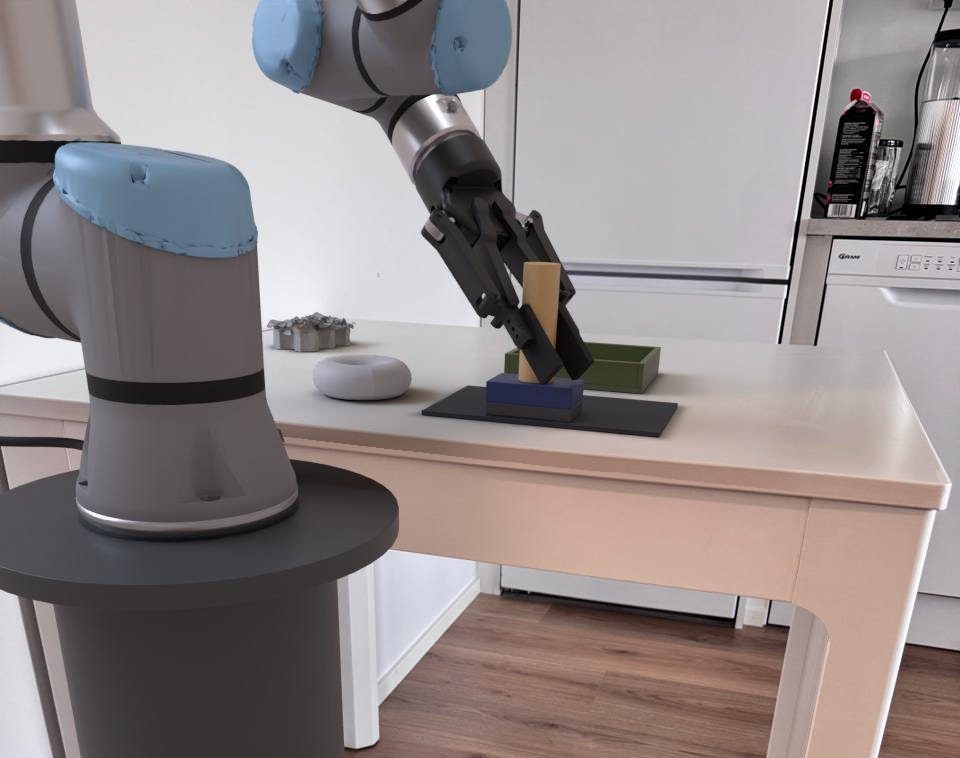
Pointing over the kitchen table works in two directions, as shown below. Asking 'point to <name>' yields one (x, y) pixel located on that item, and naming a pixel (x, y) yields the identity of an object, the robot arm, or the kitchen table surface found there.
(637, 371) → the tray
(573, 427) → the mat
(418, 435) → the kitchen table surface
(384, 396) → the donut
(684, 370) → the kitchen table surface
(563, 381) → the brush
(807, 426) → the kitchen table surface
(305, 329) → the egg carton
